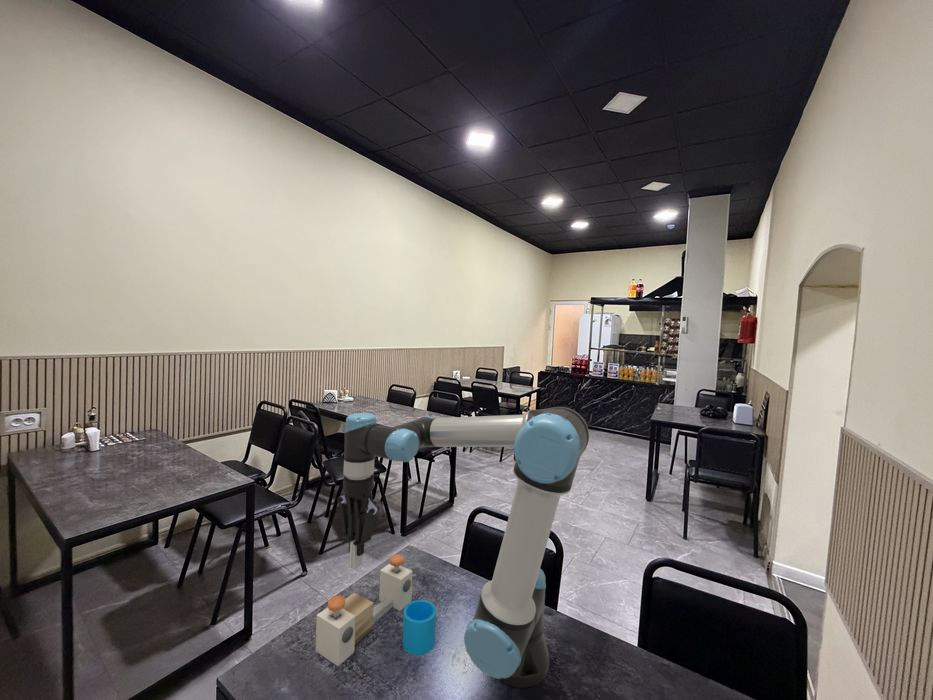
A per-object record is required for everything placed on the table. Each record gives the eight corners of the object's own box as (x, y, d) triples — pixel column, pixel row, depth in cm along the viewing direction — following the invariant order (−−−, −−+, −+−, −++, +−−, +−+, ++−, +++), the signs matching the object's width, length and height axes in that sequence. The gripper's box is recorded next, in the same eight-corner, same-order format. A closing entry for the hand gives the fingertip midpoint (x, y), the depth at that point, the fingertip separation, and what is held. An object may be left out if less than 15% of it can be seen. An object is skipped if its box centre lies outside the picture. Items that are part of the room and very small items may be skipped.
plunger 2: (405, 574, 113) (406, 557, 113) (396, 581, 110) (397, 563, 110) (395, 569, 115) (396, 552, 115) (386, 576, 112) (387, 559, 112)
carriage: (372, 632, 100) (373, 602, 100) (354, 648, 95) (355, 616, 94) (353, 621, 103) (354, 592, 103) (335, 636, 98) (336, 605, 98)
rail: (392, 607, 110) (392, 600, 110) (346, 646, 95) (346, 639, 95) (386, 603, 111) (386, 597, 111) (339, 642, 97) (339, 634, 97)
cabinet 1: (355, 652, 94) (356, 616, 94) (338, 667, 90) (340, 629, 89) (332, 637, 98) (333, 603, 98) (315, 651, 94) (316, 615, 93)
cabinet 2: (412, 601, 113) (413, 571, 112) (400, 611, 108) (402, 580, 108) (390, 591, 117) (391, 562, 117) (379, 600, 113) (380, 570, 112)
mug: (429, 658, 93) (430, 625, 93) (397, 651, 95) (398, 619, 94) (442, 622, 105) (443, 593, 105) (413, 617, 106) (414, 588, 106)
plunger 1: (348, 619, 94) (348, 599, 94) (334, 630, 91) (335, 608, 91) (336, 613, 96) (337, 593, 96) (323, 623, 93) (324, 602, 93)
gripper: (388, 476, 98) (385, 567, 98) (351, 465, 104) (349, 550, 105) (366, 485, 91) (363, 582, 92) (329, 473, 98) (326, 564, 99)
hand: (355, 565), depth 98 cm, fingers closed
